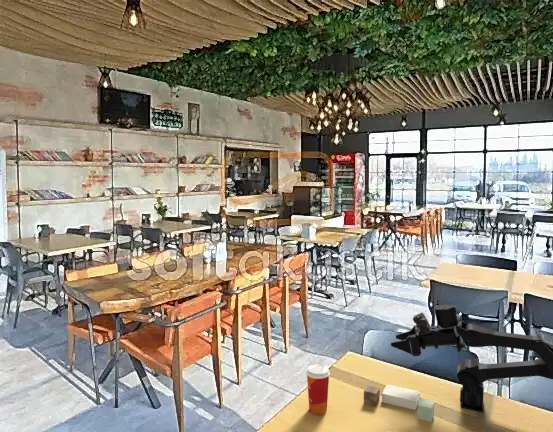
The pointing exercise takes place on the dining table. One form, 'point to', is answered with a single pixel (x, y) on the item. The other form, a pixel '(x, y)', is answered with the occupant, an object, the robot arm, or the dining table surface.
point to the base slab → (401, 397)
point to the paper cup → (318, 388)
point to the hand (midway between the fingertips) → (393, 340)
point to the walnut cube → (371, 395)
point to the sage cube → (425, 410)
